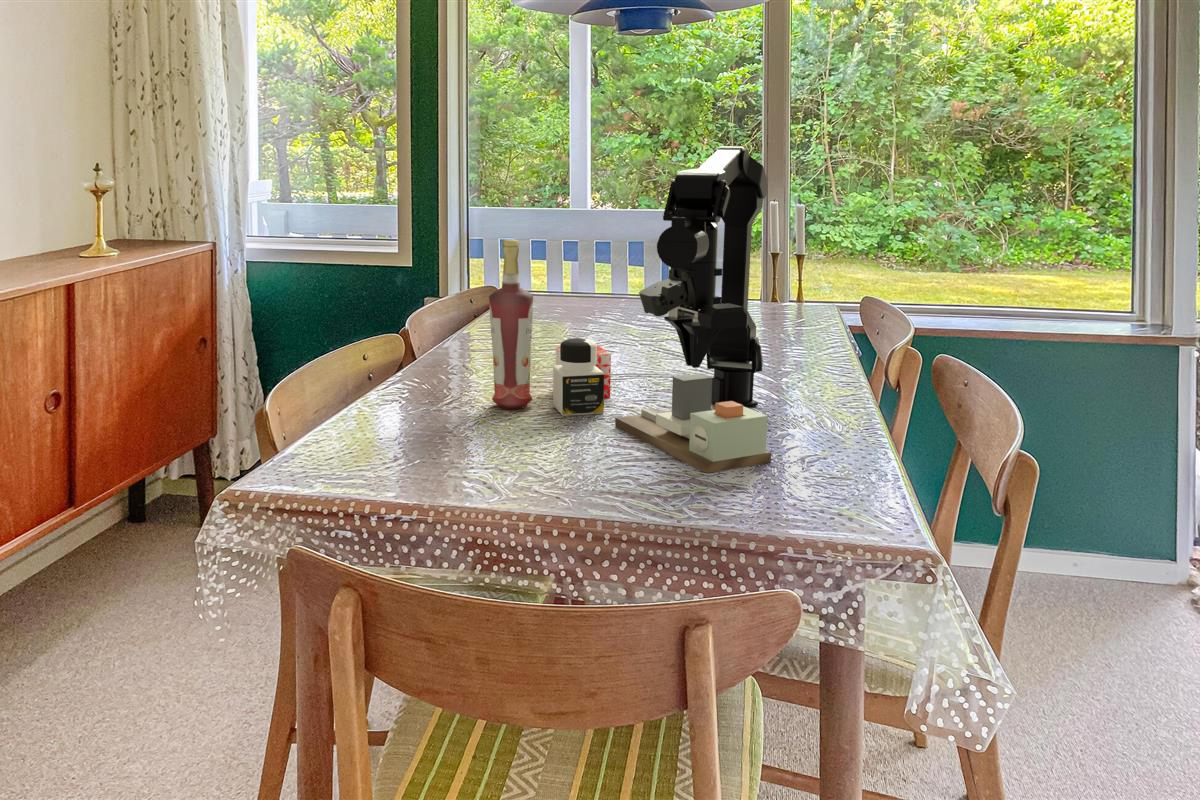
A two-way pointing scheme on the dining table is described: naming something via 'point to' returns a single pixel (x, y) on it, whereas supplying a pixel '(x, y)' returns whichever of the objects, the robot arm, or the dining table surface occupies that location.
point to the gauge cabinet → (727, 435)
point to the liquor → (511, 334)
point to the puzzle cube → (598, 366)
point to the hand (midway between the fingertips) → (693, 366)
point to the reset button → (728, 409)
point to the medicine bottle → (578, 379)
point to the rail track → (679, 443)
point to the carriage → (686, 402)
